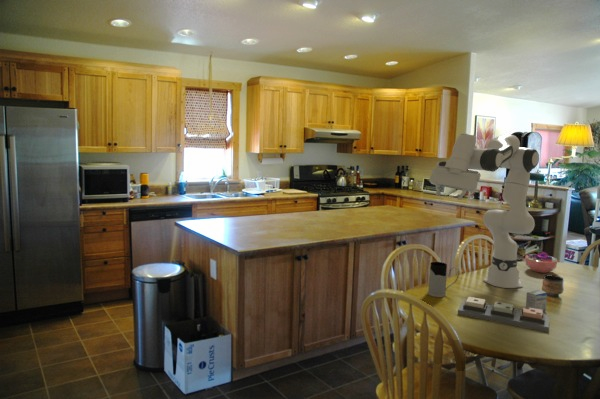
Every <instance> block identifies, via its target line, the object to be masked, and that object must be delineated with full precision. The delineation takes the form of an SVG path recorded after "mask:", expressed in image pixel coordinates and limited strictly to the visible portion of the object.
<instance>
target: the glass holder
mask: <svg viewBox="0 0 600 399" xmlns="http://www.w3.org/2000/svg"><path fill="white" fill-rule="evenodd" d="M447 266H448V265H447V263H445V262H441V261H432V262H430V267H429V278H428V279H429V280H428V290H427V295H429V296H431V297H437V298H442V297H443V298H444V297H446V296H447V293H446V291H447V289H448V288H450V287H451V286H453V285H454V284H455V283H456V282H457V281H458V279H459V277H460V269H459V268H458V267H455V266H453V267H451V268H450V270H449V274H447ZM453 269H457V271H458V273H457V277H456V279H455V280H454V281H453V282H452V283H451V284H449V285H448V286H447V277H449V276H450V275H451V273H452V272H451V271H452V270H453Z"/></svg>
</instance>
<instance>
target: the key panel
mask: <svg viewBox="0 0 600 399" xmlns="http://www.w3.org/2000/svg"><path fill="white" fill-rule="evenodd" d="M467 299H468V298H466V299H463V300H462V302H461V304H460V306H459V307H458V308H457V315H461V316H464V317H471V318H474V319H479V320H485V321H490V322H496V323H499V324H505V325H510V326H515V327H520V328H526V329H530V330H535V331H539V332H546V333H549V329H550V322H549V321H550V320H549V319H550V316H549V315H547V314H545V313H546V312H545V313H544V312H543V314H542V319H537V318H532V317H526V316H523V308H521V309H516V307H513V311H512V314H510V313H505V312H500V311H494V304H495V303H493V304H489V303H488V302H486V301H485V306H484V308H478V307H473V306H468V305H466V301H467Z"/></svg>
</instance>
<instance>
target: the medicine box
mask: <svg viewBox="0 0 600 399" xmlns="http://www.w3.org/2000/svg"><path fill="white" fill-rule="evenodd" d="M547 297H548V293H547V292H546V291H543V290H540V289H537V290H533V291H527V292H526V300H525V307H530V308H535V309H541V310H543V313H544V312H546V309H547V301H548V300H547V299H548V298H547Z"/></svg>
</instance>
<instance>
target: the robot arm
mask: <svg viewBox="0 0 600 399" xmlns="http://www.w3.org/2000/svg"><path fill="white" fill-rule="evenodd" d="M476 143H477V136H476V135H474V134H472V133H459V135H458V136H457V138H456V139H455V142H454V144H453V147H452V151H451V155H450V157H449V159H448V160H443V161H442V160H441V161H437V162H436V166H435V167H434V168H433V170H432V172H431V173H430V176H429V180H428V181H429V183H430V184H431V185H433V186H435V189H436V191H435V192H436V193H435V195H436V196H441V193H442V192H441V190H440V188H441V187H445V188H448V189H449V188H450V189H453V190H454V189H455V190H460V191H461V193H460V194H457V198H456V199H457V200H460V201H462V200H463V197H464V196H465V195H466V194H467V192H470V193H475V192H476V191H477V187H478V183H479V181H480V179H481V175H482V174H481V173H480V172H479V171H486V172H491V173H492V172H493V173H494V172H496V171H497V170H498V169H499V168H500V169H502V168H503V169H509V171H508V174H507V175H506V176H507V177H506V178H505V179H506V180H505V182H504V188H503V191H502V195H501V196H502V199H503V201H504V202H505V203H506V204H507V205H508V206H509V210H504V209H488V210H487V211H485V213H484V214H483V217H482V222H483V225H484V226H485V227H486V228H487V229H488V231H489V232H490V234H491V236H492V240H493V256H492V257H491V264H490V265H489V266H488V269H487V270H488V271H487V276H486V277H485V278H483V280H482V281H483V282H485V283H487V284H489V285H491V286H494V287H498V288H504V289H516V288H523V284H522V282H521V280H520V278H521V277H520V270H519V269H518V268H517V266H518V259H517V256H518V243H517V242H516V241H515V240H514V239H513V238H511V236H510V233H511V234H516V235H530V233H532V231H534V228H535V227H536V224H535V222H536V221H535V218H534V217H533V216H532V215H531V214H530V213H529V211H528V208H527V204H526V202H527V195H528V192H529V191H528V190H529V186H530V185H529V184H530V179H531V177H530V176H531V172H532V170H535V168H536V167H537V165H538V163H539V160H540V155H539V152H538V150H537V149H535V148H532V147H521V142H520V139H519V137H517V136H516V135H514V134H504V135H503V134H502V135H500V136H496V137H494V138H492V139H491V140H489V141H488V143H487V145H486V148H478V147H477V146H476Z"/></svg>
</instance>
